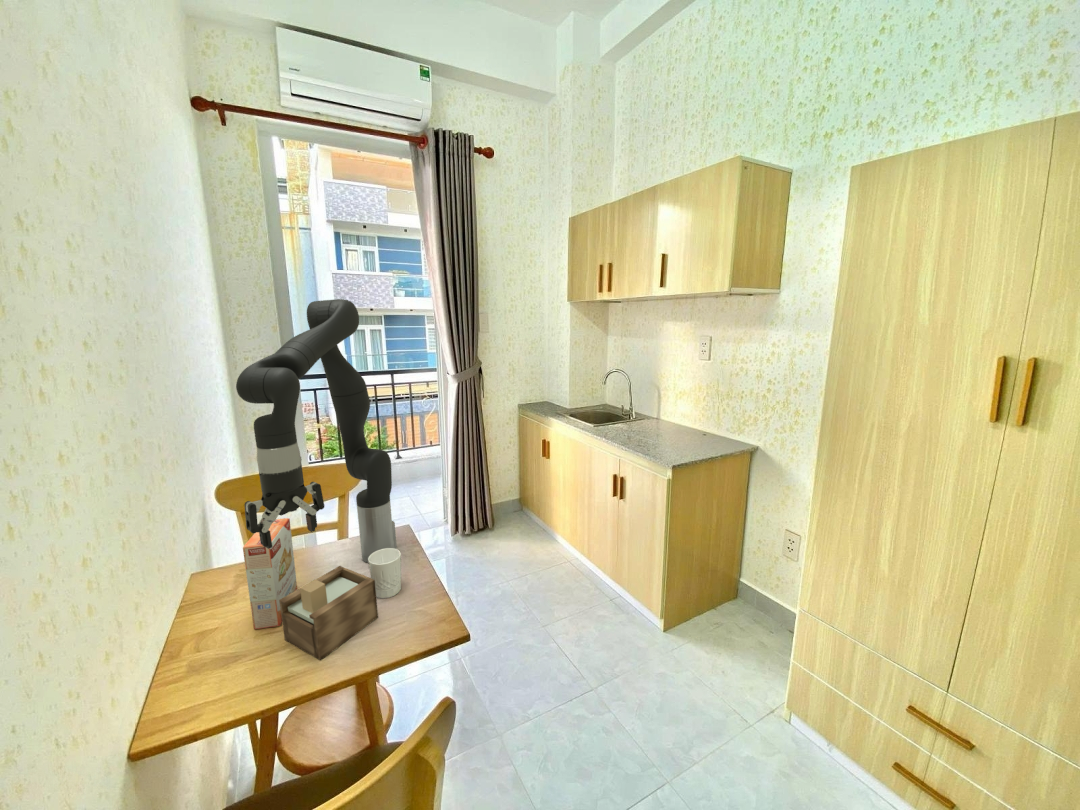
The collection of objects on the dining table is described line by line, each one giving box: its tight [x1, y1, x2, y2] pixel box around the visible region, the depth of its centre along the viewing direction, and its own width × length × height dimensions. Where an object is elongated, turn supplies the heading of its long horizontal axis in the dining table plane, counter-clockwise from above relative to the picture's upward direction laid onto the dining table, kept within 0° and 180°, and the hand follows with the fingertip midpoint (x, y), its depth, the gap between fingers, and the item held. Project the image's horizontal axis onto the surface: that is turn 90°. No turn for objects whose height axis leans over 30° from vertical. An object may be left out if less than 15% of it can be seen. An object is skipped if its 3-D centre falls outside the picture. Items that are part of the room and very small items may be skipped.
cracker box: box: [242, 517, 298, 630], centre depth 104 cm, size 14×6×21 cm, turn 14°
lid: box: [288, 576, 358, 624], centre depth 97 cm, size 13×10×6 cm
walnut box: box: [279, 565, 379, 661], centre depth 98 cm, size 15×12×10 cm
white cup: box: [368, 548, 402, 599], centre depth 112 cm, size 8×8×10 cm
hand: (290, 538), depth 91 cm, fingers open, 8 cm apart
